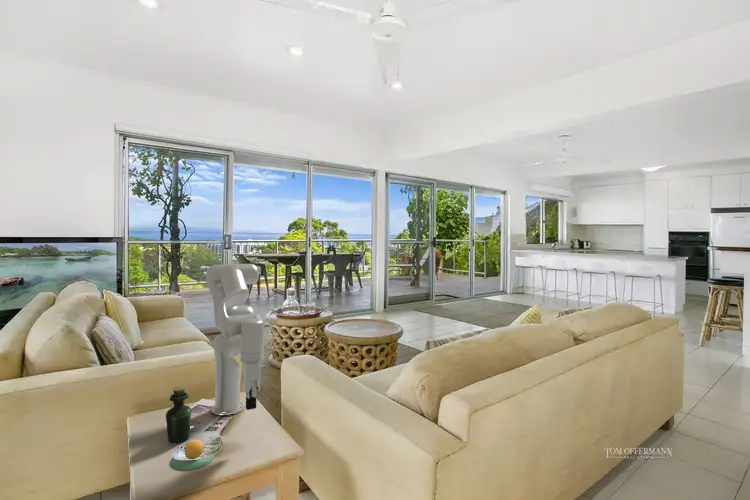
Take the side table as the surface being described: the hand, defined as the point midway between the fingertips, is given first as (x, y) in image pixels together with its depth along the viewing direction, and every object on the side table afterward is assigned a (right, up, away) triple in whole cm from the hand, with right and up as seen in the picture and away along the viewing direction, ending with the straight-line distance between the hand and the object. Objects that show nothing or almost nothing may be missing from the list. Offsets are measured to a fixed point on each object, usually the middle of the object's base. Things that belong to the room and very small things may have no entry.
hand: (250, 408), depth 134 cm
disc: (-15, -12, -9) cm, 22 cm away
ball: (-15, -10, -9) cm, 20 cm away
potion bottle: (-26, -12, +2) cm, 29 cm away
